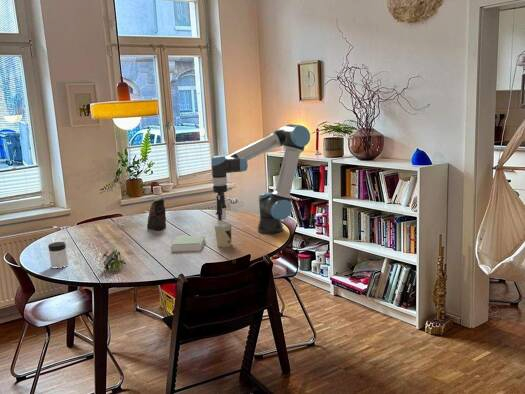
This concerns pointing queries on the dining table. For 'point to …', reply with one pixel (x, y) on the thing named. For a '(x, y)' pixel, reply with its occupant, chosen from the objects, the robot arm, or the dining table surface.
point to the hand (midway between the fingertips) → (222, 222)
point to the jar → (58, 254)
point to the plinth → (188, 243)
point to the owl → (157, 215)
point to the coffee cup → (223, 234)
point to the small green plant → (117, 262)
